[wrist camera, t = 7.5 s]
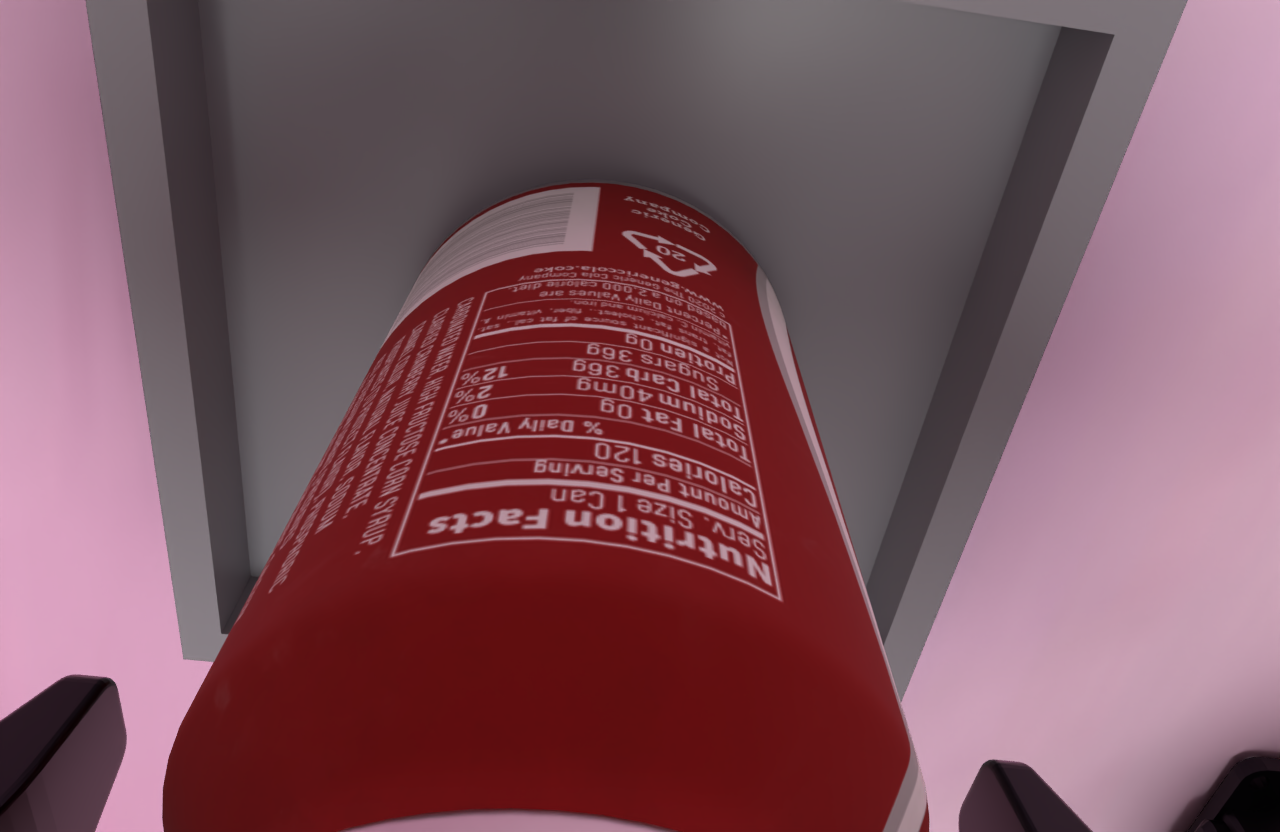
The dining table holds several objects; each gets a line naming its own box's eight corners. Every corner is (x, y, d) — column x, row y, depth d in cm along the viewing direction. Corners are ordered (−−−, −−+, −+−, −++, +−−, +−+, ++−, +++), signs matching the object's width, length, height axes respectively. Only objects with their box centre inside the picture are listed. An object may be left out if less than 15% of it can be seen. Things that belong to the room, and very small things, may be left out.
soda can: (347, 227, 16) (-179, 893, 6) (736, 116, 15) (936, 677, 5) (488, 533, 19) (312, 1304, 9) (814, 457, 18) (1032, 1225, 8)
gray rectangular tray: (1114, -41, 15) (1195, -20, 13) (866, 639, 22) (891, 724, 20) (145, -198, 14) (55, -204, 11) (228, 576, 21) (183, 659, 19)
